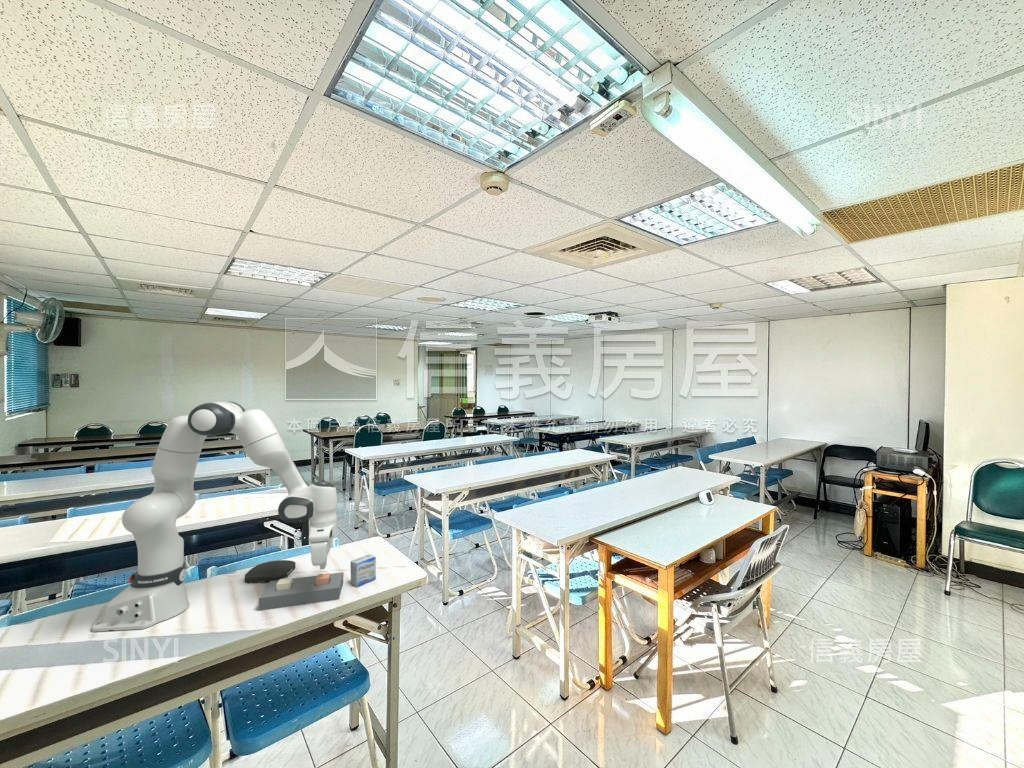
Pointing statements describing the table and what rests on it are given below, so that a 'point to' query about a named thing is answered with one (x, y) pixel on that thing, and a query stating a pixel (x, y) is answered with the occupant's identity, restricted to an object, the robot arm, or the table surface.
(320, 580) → the terracotta key
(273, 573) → the media streaming box
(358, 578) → the medicine box
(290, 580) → the sand key
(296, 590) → the key panel
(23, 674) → the table surface
